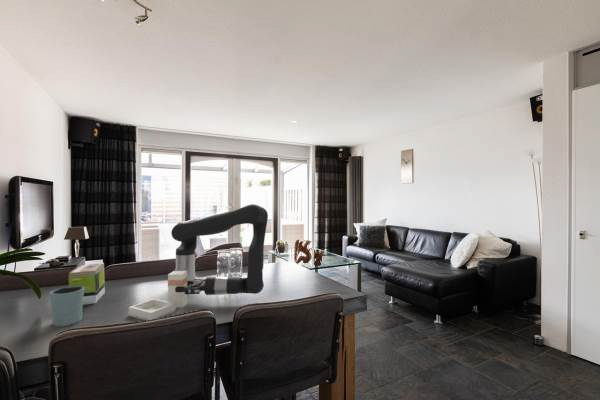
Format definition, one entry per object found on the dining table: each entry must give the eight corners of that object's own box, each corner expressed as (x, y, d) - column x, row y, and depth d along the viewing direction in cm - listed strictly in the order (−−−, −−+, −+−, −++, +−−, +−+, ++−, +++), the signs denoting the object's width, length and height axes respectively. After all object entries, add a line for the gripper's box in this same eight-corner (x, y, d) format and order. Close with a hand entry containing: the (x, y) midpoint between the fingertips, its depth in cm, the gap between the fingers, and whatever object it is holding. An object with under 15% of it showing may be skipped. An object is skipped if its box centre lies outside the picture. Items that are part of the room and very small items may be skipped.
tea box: (80, 295, 139) (80, 264, 139) (105, 293, 143) (105, 262, 142) (68, 306, 125) (68, 272, 125) (96, 303, 128) (96, 270, 128)
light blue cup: (60, 329, 103) (60, 295, 103) (43, 324, 107) (43, 291, 107) (90, 318, 113) (90, 287, 113) (73, 314, 117) (73, 284, 116)
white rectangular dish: (128, 315, 115) (128, 307, 115) (153, 306, 125) (153, 298, 125) (150, 322, 109) (150, 312, 109) (175, 311, 119) (175, 303, 119)
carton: (167, 307, 124) (167, 274, 124) (173, 302, 130) (173, 270, 130) (182, 307, 124) (182, 274, 124) (187, 302, 130) (187, 270, 130)
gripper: (220, 273, 135) (184, 273, 134) (213, 281, 121) (173, 282, 120) (220, 289, 135) (184, 289, 134) (213, 300, 121) (173, 300, 120)
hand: (179, 286), depth 127 cm, fingers open, 8 cm apart
